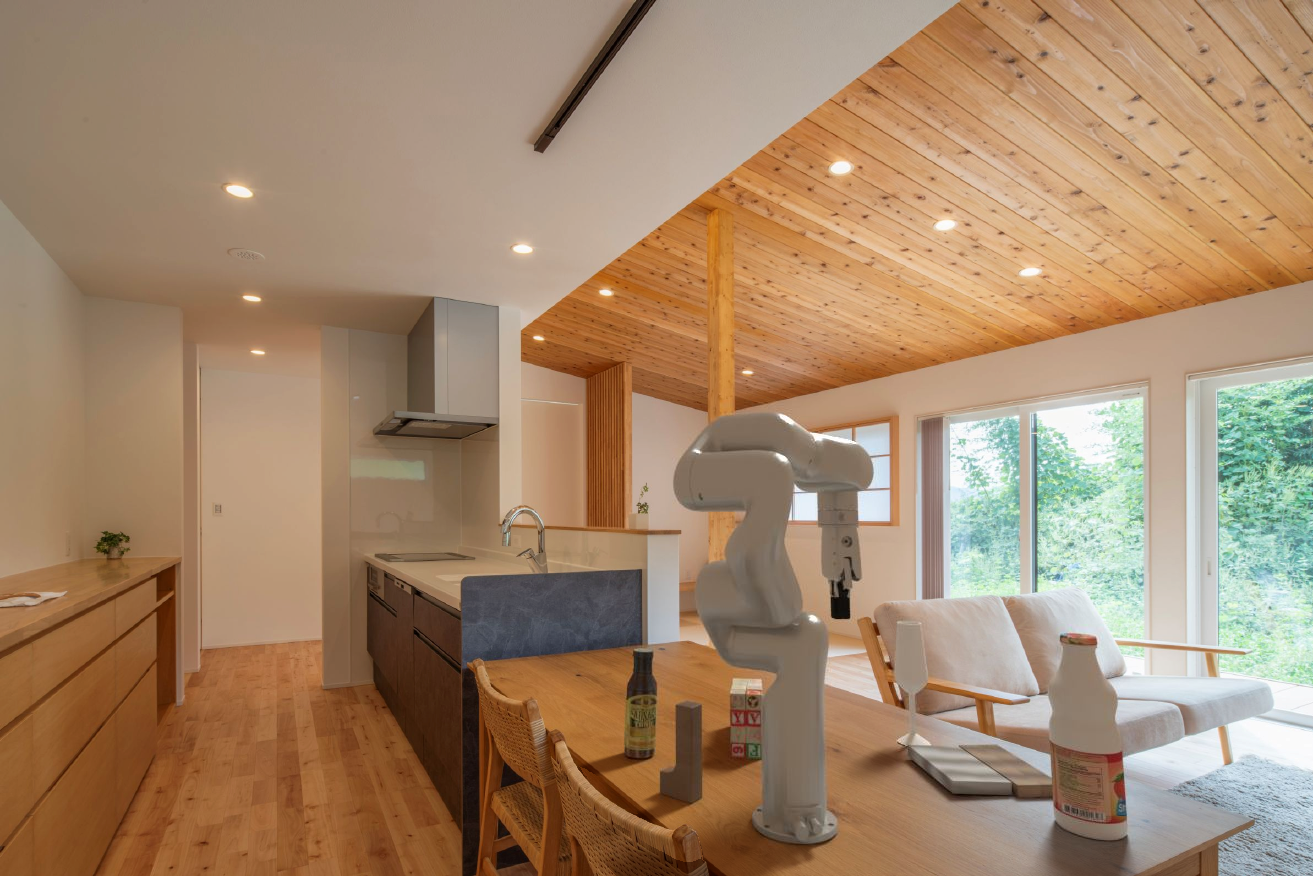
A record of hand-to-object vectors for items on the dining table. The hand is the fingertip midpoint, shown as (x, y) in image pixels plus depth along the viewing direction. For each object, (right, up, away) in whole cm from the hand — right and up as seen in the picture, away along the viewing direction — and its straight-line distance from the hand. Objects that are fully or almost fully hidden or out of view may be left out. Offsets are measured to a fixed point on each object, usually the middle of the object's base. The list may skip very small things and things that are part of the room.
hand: (840, 618), depth 129 cm
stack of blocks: (-16, -29, +13) cm, 36 cm away
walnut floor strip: (+28, -27, -5) cm, 39 cm away
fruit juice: (+30, -25, -26) cm, 47 cm away
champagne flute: (+18, -29, +12) cm, 36 cm away
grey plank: (+19, -26, -6) cm, 33 cm away
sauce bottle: (-38, -28, +5) cm, 47 cm away
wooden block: (-30, -26, -15) cm, 43 cm away
